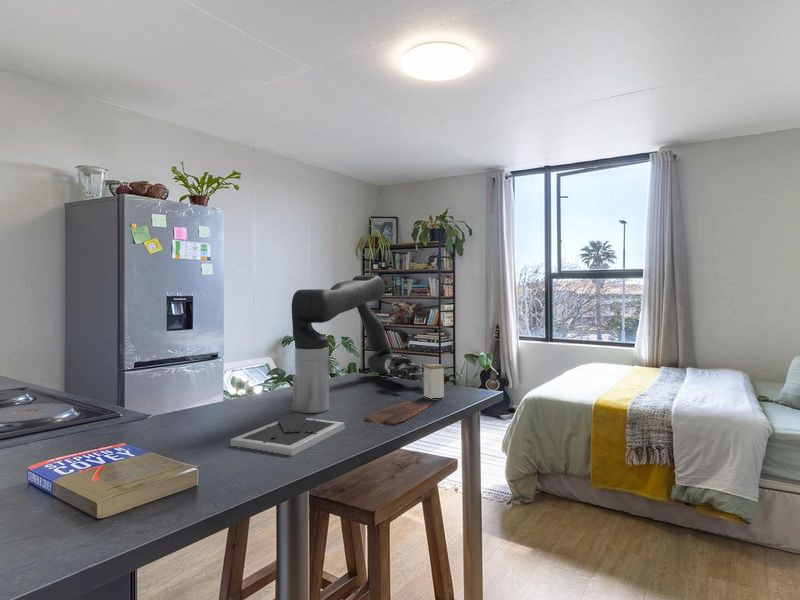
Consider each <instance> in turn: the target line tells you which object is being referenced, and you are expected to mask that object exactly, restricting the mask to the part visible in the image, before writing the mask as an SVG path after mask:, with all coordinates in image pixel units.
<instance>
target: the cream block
mask: <svg viewBox="0 0 800 600" xmlns="http://www.w3.org/2000/svg"><path fill="white" fill-rule="evenodd" d="M424 364H425V365H424V374H423V397H424V396H426V397H428V398H431V399H432V398H441V397H444V398H445V385H444V384H445V381H444V380H445V371H444V370H445V365H443V364H439V363H430V364H429V363H428V364H426V363H424ZM426 397H425V398H426ZM428 398H427V399H428Z"/></svg>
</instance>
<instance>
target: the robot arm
mask: <svg viewBox="0 0 800 600" xmlns="http://www.w3.org/2000/svg"><path fill="white" fill-rule="evenodd" d="M385 290H386V287H385V282H384V280H383V278H382V277H381V276H379V275H376V274H373V275H372V274H367V275H364V274H363V275H356V276H354V277H353V278H352V279H351V280H345V281H340V282H338V283H335V284H334V285H333V286H332V287H330V289H321V288H318V289H317V288H314V289H312V288H311V289H298V290H296V291H295V292H294V294H293V296H292V300H291V321H292V322H291V323H292V324H291V325H292V337H293V341H294V372H295V373H294V375H293V376H292V411H293V412H298V413H302V414H313V413H314V414H315V413H323V412H326V411H328V410H329V409H330V350H329V349H330V348H329V347H330V343H329V342H330V341H329V338H328V336H326V335H325V334H322V333H320V332H318V331H317V330H315V329H314V328H313V324H312V323H314V324H315V323H316V324H323V323H327V322H330V321H331V320H333V319H334V318H335V317H336V316H338V315H339V314H343V313H346V312H349V311H352V310H354V309H355V308H356V310H357V312H358V313H359V316H360V319H361V321H362V323H363V327H364V330H365V334H366V338H367V339H366V340H367V344H368V347H369V350H371V351H374V352H375V353H373V354H371V355H369V356H368V359H367V366H368V369H370V371H371V372H373V373H376V374H384V373H385V374H388V375H390V376H392V377H395V378H399V379H402V380H404V379H407V378H409V377H410V376H413V375H417V376H419V375H422V374H423V375H424V365H425V364H426V363H420V364H418V363H414V362H412V360H411V359H410V358H409V357H406V356H402V355H400V354H394V352H393V351H392V349H391V348H390V346H389V343H388V341H387V335H386V331H385V326H384V325H383V323H382V322H381V320H380V319H379V318H378V316H376V314H375V313H374V312H373V310H372V309H371V308H370V306H369V304H368V303H369V302H377V301H380V300H381V299H382V298H383V296H384V294H385Z"/></svg>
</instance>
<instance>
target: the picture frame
mask: <svg viewBox="0 0 800 600" xmlns="http://www.w3.org/2000/svg"><path fill="white" fill-rule="evenodd" d="M345 425H346V423H345V422H343V421H333V420H327V419H318V418H311V417H310V418H308V415H304V414H298V413H291V412H290V413H287V414H284V415H282V416H278V417H277V421H274V422H272V423H269V424H266V425H263V426H261V427H259V428H256V429H253V430H251V431H249V432H245V433H244V434H240V435H239V436H235V437H233V438H230V446H231V445H234V446H239V447H238V448H240V447H245V448H244V449H246V448H251V449H250V450H252V449H257V450H256V451H259V450H262V451H261V452H265V451H268V452H267V453H271V452H273V454H278V453H279V455H286V456H291V457H293V456H294V455H296V454H298V453H300V452H302V451H304V450H306V449H308V448H310V447H313V446H314V445H316V444H318V443H320V442H322V441H323V440H326V439H328V438H329V437H332V436H333V435H335V434H337V433H339V432H341V431H343V430H344V429H346V428H345Z"/></svg>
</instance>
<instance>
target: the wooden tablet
mask: <svg viewBox="0 0 800 600" xmlns="http://www.w3.org/2000/svg"><path fill="white" fill-rule="evenodd" d="M432 403H433V404H434V402H433V401H422V402H407V401H403V402H401V403H398V404H395V405H391V406H389V407H386V408H384V409H381V410H378V411H376V412H374V413H372V414H370V415H368V416H366V417H365V418H364V421H365V422H369V423H380V424H383V425H387V426H389V425H390V426H395V425H398V424H401V423H403V422H405V421H407V420H408V419H411V418H413V417H414V416H416V415H418V414H419V413H421V412H422V410H423V411H425V410H426V409H427V408H429V407H430V406H431V404H432ZM433 404H432V405H433ZM429 405H430V406H429ZM428 406H429V407H428Z"/></svg>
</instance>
